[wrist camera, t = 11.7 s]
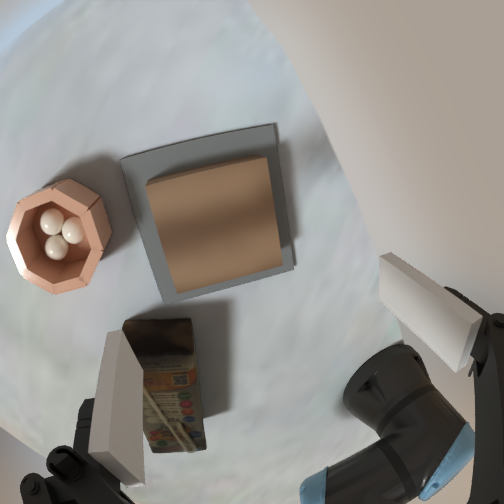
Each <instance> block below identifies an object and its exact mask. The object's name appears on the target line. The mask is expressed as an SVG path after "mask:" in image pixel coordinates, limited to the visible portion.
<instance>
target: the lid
mask: <svg viewBox="0 0 504 504" xmlns="http://www.w3.org/2000/svg"><path fill="white" fill-rule="evenodd" d="M145 188H146V192H147V195H148V199H149V203H150V206H151V210H152V214H153V217H154V221H155V224H156V228H157V231H158V235H159V238H160V241H161V245H162V248H163V251H164V255H165V258H166V261H167V264H168V267H169V271H170V274H171V277H172V280H173V283H174V286H175V289H176V292H177V294H180V293H183V292H187V291H191V290H195V289H198V288H202V287H206V286H210V285H213V284H217V283H221V282H225V281H228V280H232V279H236V278H239V277H243V276H247V275H250V274H254V273H257V272H261V271H265V270H268V269H272V268H275V267H279V266H282V265H283V262H282V255H281V248H280V241H279V234H278V227H277V220H276V214H275V207H274V201H273V194H272V188H271V182H270V175H269V169H268V163H267V157H263V156H260V155H252V156H247V157H242V158H237V159H232V160H228V161H223V162H218V163H214V164H210V165H205V166H201V167H197V168H193V169H189V170H185V171H181V172H177V173H173V174H169V175H165V176H161V177H158V178H154V179H150V180H148V181H147V183H146V185H145Z"/></svg>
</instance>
